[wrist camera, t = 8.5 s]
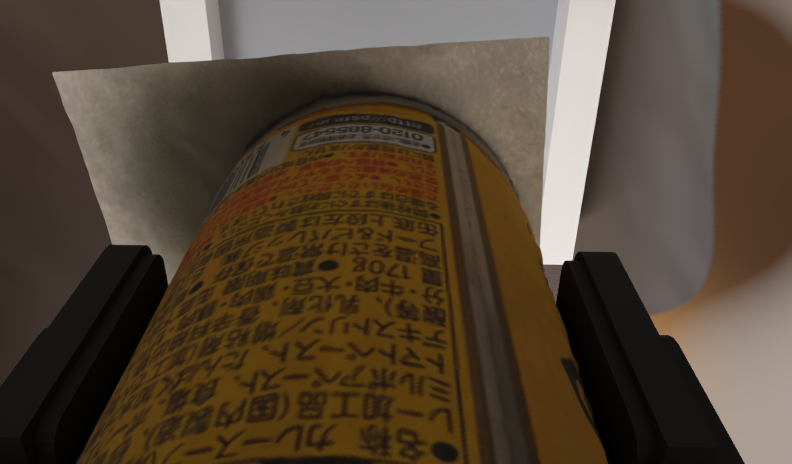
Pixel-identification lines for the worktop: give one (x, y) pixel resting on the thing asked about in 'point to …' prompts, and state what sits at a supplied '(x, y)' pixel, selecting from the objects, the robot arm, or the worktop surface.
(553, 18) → the housing
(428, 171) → the condiment
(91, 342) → the robot arm
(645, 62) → the worktop surface
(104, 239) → the worktop surface
